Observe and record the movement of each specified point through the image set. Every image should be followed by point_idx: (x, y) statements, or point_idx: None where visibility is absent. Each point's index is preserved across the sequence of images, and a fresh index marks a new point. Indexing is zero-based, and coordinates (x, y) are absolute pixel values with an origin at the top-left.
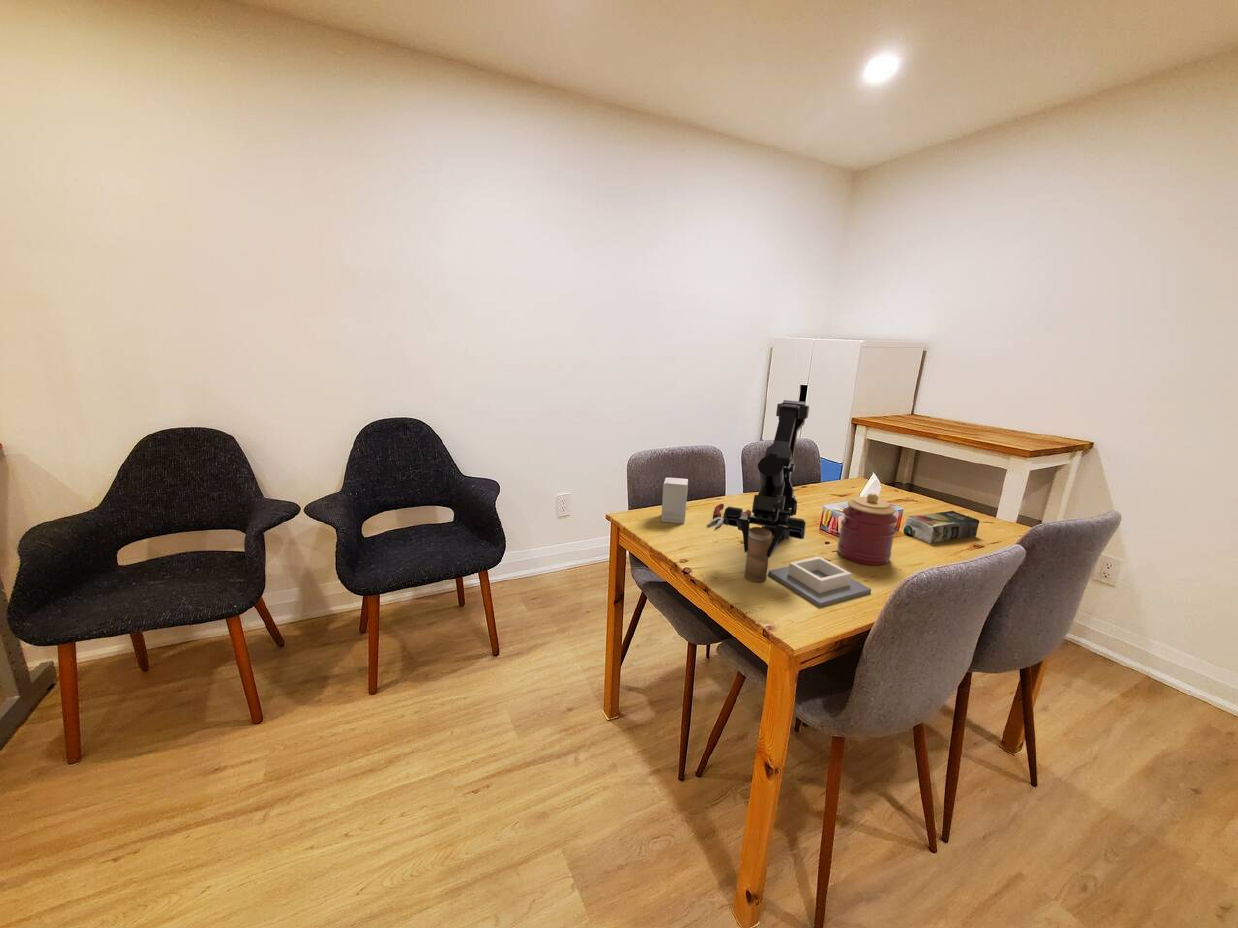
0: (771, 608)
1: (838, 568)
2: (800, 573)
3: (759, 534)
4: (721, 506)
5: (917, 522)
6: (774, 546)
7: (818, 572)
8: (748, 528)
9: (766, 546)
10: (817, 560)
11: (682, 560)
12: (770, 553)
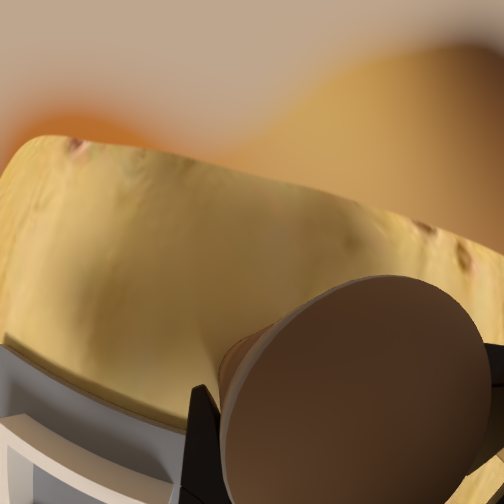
0: (98, 218)
1: None
2: (96, 472)
3: (329, 316)
4: None
5: None
6: (183, 457)
7: None
8: (494, 397)
9: (224, 391)
10: None
11: (465, 257)
12: (191, 402)
